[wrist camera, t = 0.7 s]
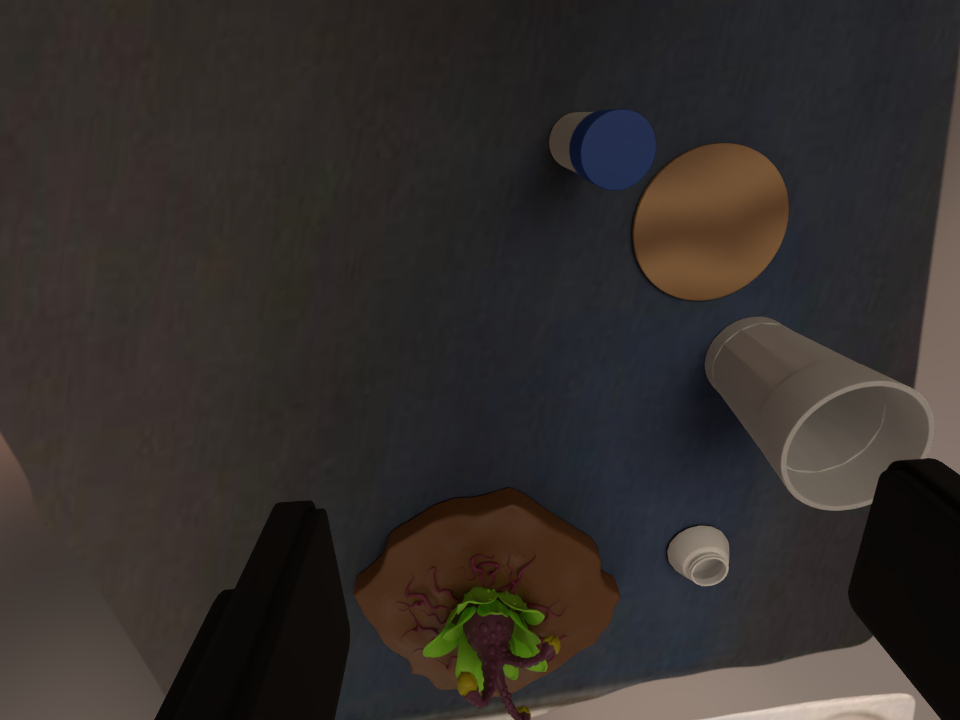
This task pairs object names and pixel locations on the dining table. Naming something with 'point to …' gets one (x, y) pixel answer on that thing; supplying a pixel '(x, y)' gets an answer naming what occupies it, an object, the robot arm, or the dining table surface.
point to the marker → (605, 146)
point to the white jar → (700, 555)
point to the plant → (487, 595)
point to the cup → (817, 412)
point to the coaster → (710, 221)
